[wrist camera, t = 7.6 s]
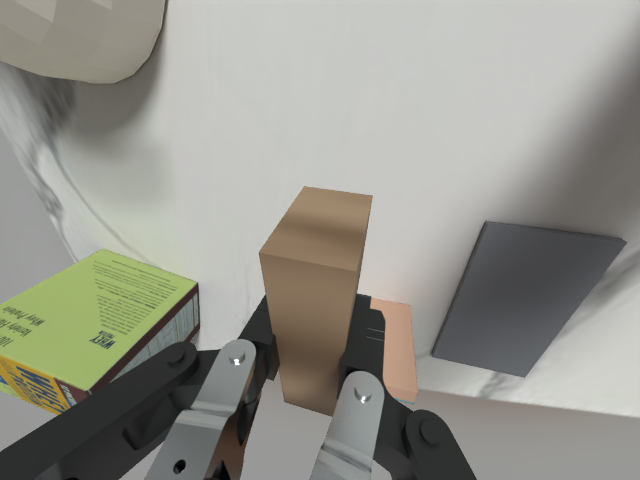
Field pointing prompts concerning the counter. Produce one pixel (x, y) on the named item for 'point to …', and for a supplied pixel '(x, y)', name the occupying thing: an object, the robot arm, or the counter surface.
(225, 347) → the robot arm
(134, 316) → the protein box
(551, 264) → the mat
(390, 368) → the tile
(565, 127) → the counter surface
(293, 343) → the tall tan post
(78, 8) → the kettle
